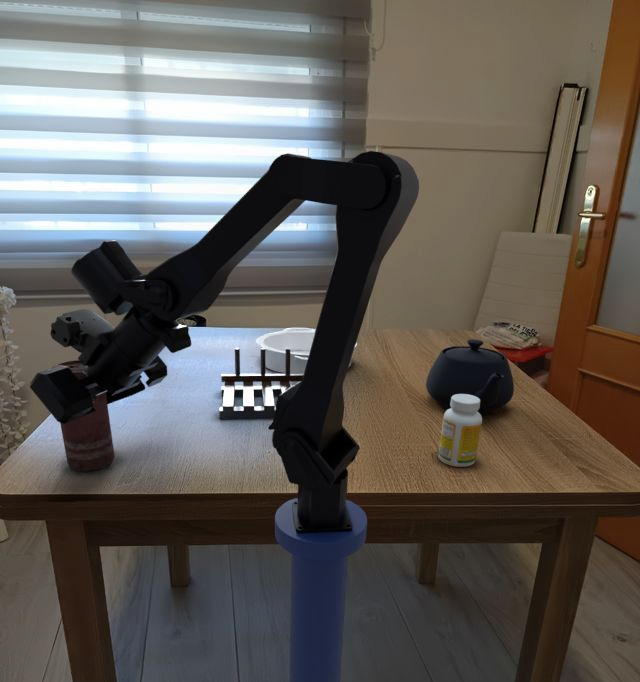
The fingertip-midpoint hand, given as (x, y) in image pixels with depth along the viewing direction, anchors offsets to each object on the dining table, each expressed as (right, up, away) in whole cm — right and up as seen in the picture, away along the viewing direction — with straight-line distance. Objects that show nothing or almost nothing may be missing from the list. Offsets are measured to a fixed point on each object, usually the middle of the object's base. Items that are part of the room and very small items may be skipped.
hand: (76, 413), depth 77 cm
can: (+1, -7, +2) cm, 7 cm away
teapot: (+60, +2, +28) cm, 67 cm away
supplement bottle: (+53, -7, +7) cm, 54 cm away
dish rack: (+25, +2, +26) cm, 36 cm away
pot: (+30, +12, +52) cm, 61 cm away
